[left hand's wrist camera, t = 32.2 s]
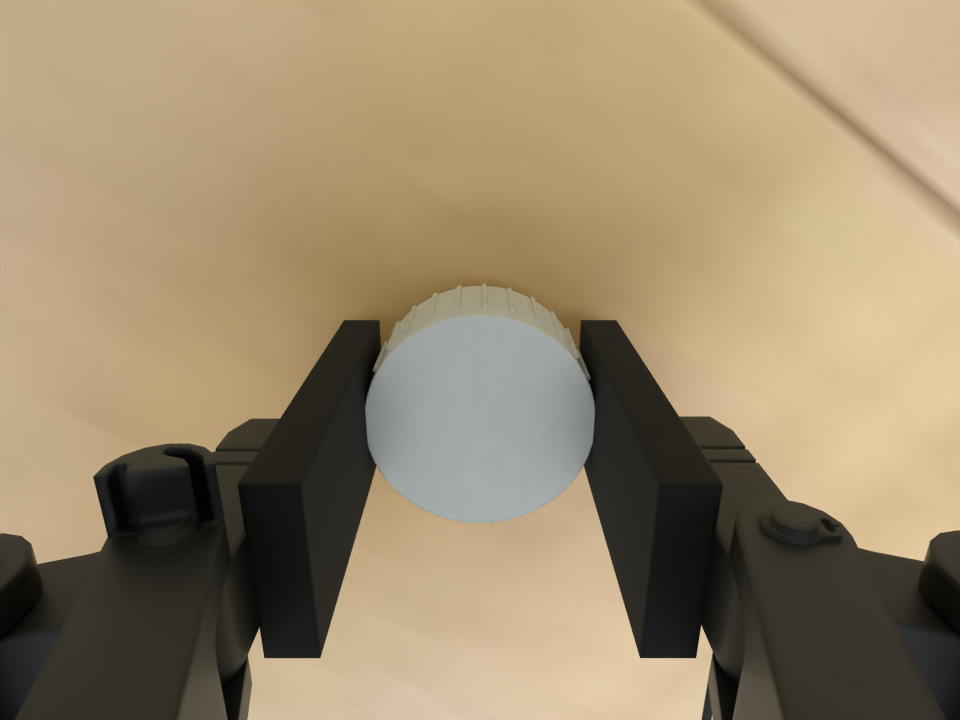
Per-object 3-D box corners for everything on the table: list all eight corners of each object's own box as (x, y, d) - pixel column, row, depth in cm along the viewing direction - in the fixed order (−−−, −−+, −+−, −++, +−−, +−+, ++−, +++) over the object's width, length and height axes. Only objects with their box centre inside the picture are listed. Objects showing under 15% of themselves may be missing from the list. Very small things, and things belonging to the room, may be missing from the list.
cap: (543, 250, 13) (555, 274, 11) (608, 434, 15) (628, 485, 13) (343, 325, 14) (320, 362, 12) (425, 495, 15) (417, 552, 13)
